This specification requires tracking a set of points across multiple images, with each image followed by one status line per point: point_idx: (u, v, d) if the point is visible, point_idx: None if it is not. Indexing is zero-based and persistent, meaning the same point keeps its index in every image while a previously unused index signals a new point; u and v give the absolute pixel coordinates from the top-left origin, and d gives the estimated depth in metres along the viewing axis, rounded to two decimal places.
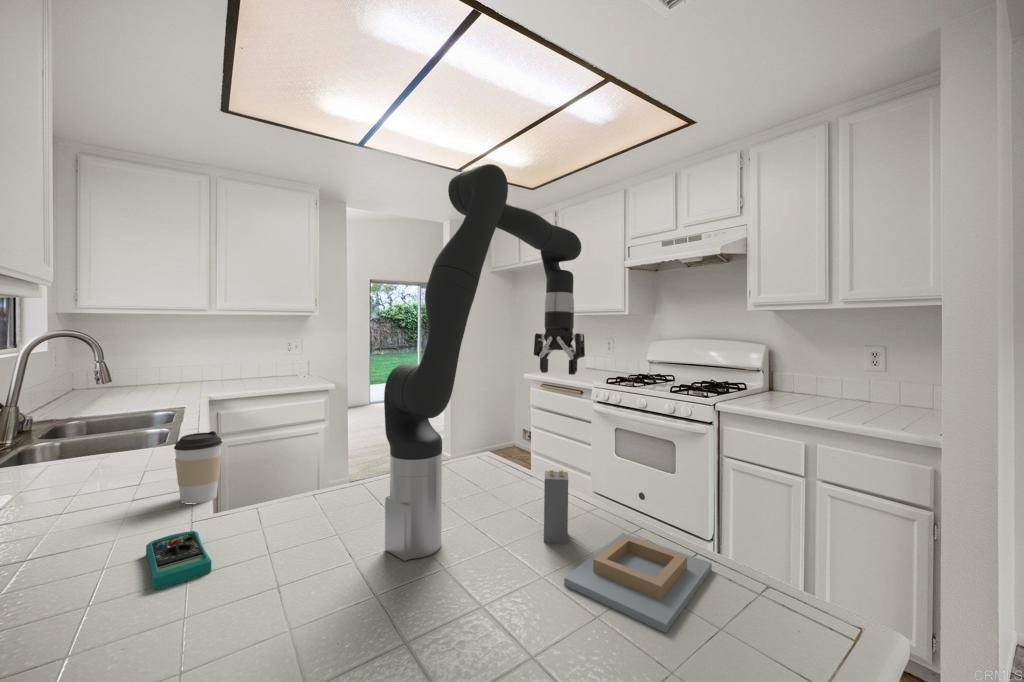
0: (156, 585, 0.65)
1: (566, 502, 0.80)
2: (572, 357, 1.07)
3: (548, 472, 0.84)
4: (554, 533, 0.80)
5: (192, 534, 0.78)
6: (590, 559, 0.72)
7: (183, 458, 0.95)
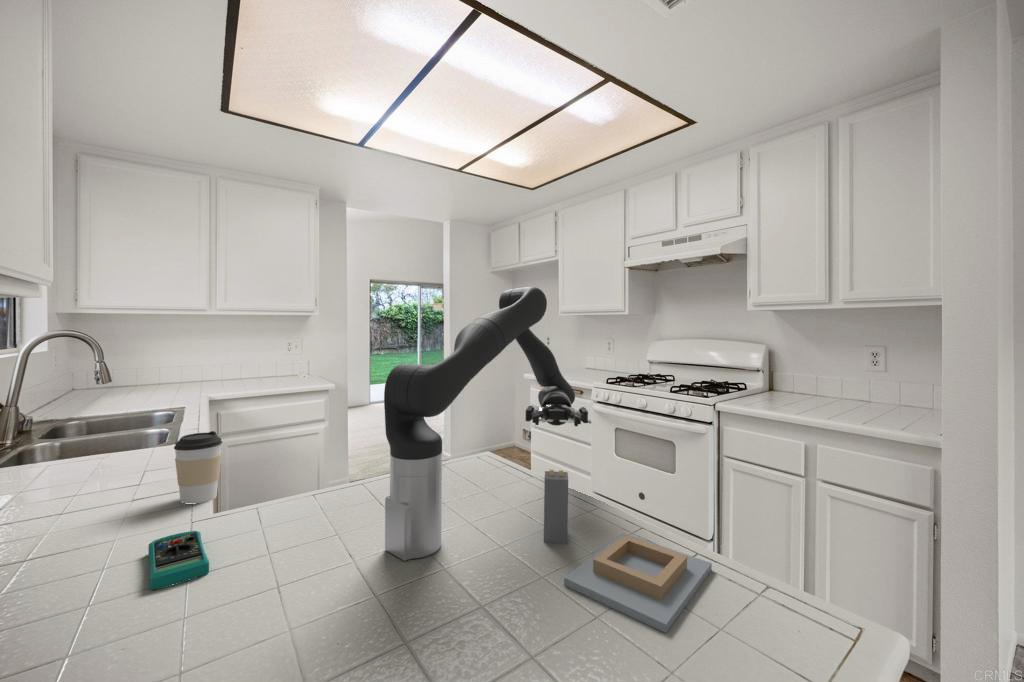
0: (153, 585, 0.64)
1: (566, 502, 0.80)
2: (579, 412, 0.97)
3: (548, 472, 0.84)
4: (554, 533, 0.80)
5: (194, 534, 0.78)
6: (590, 559, 0.72)
7: (183, 458, 0.95)
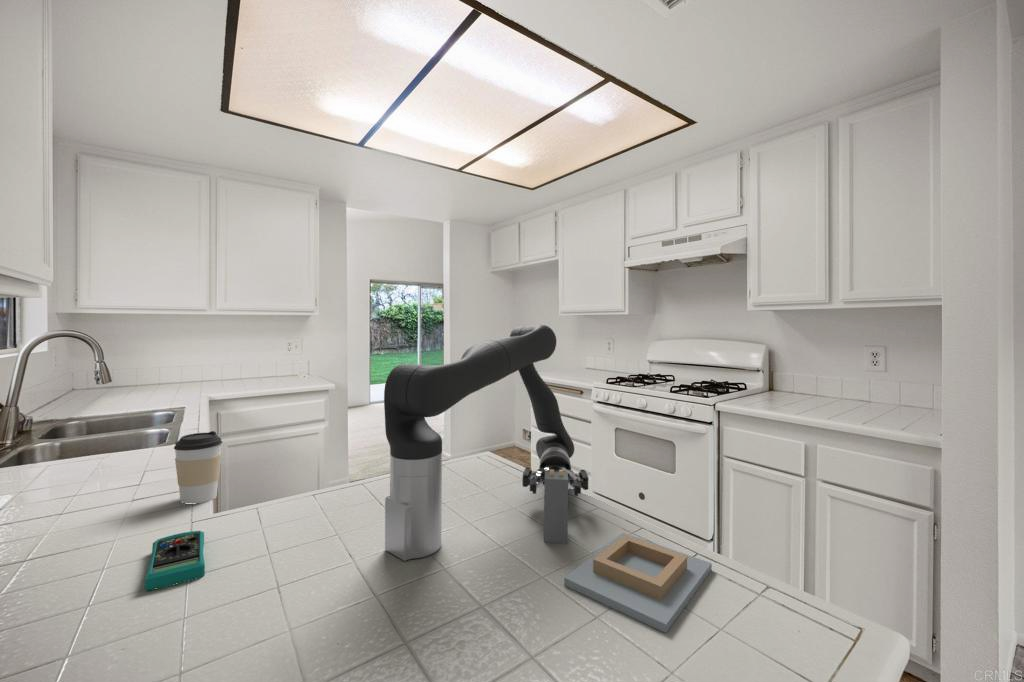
0: (148, 587, 0.64)
1: (566, 502, 0.80)
2: (578, 478, 0.92)
3: (548, 472, 0.84)
4: (554, 533, 0.80)
5: (198, 534, 0.78)
6: (590, 559, 0.72)
7: (183, 458, 0.95)
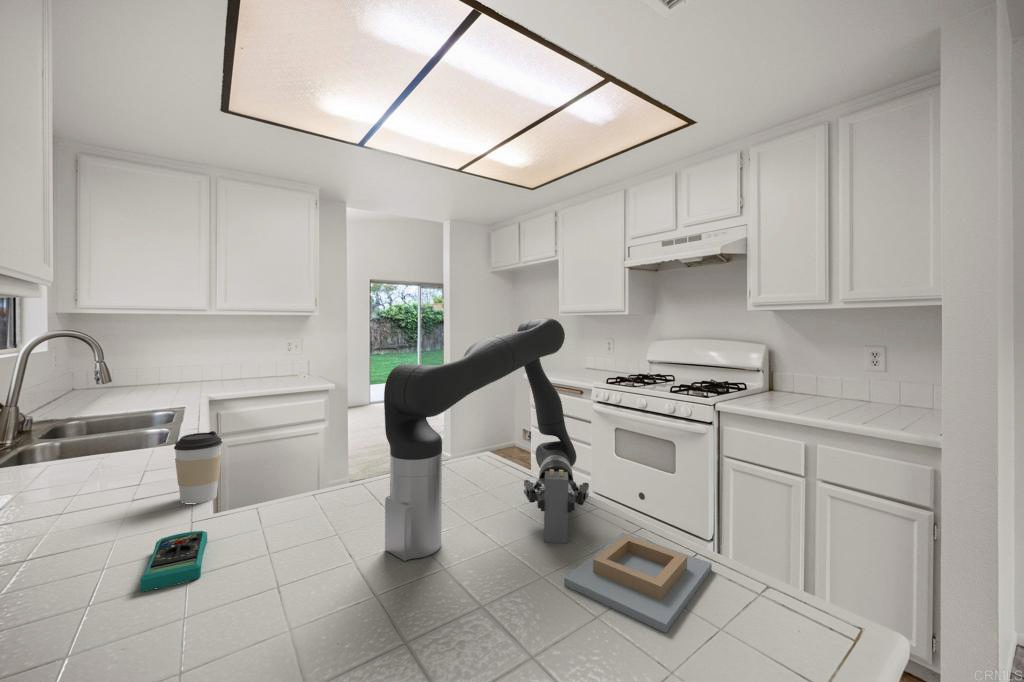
0: (143, 587, 0.64)
1: (566, 502, 0.80)
2: (573, 492, 0.83)
3: (548, 472, 0.84)
4: (554, 533, 0.80)
5: (200, 534, 0.78)
6: (590, 559, 0.72)
7: (183, 458, 0.95)
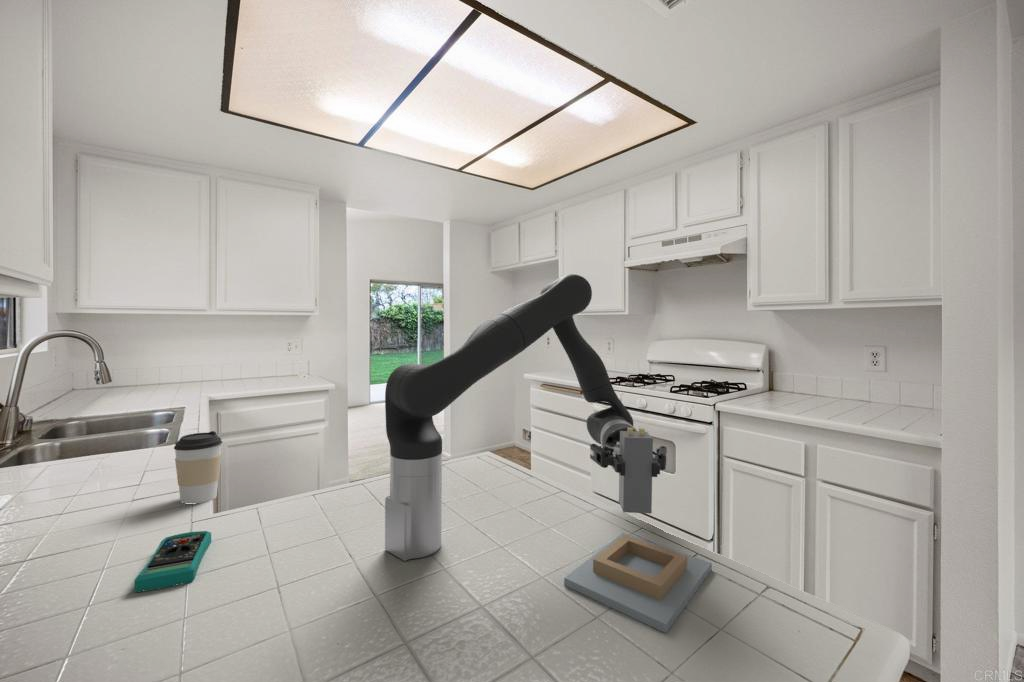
0: (136, 588, 0.64)
1: (650, 465, 0.68)
2: (653, 455, 0.71)
3: (624, 432, 0.72)
4: (636, 501, 0.68)
5: (204, 534, 0.78)
6: (590, 559, 0.72)
7: (183, 458, 0.95)
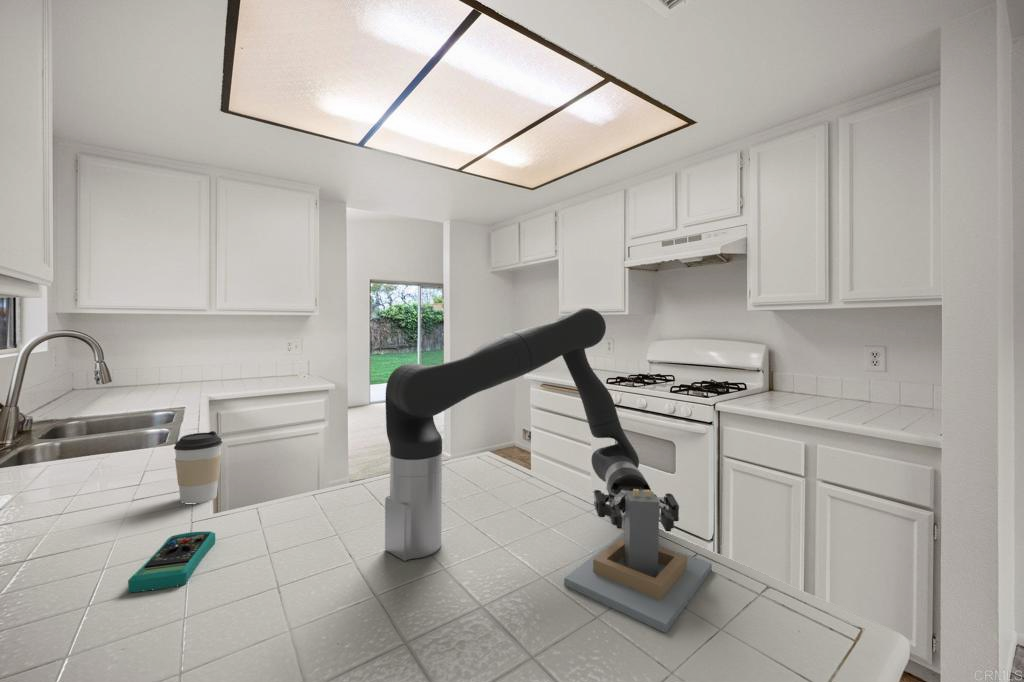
0: (130, 588, 0.64)
1: (656, 529, 0.67)
2: (667, 506, 0.71)
3: (630, 492, 0.71)
4: (642, 566, 0.67)
5: (207, 535, 0.78)
6: (590, 559, 0.72)
7: (183, 458, 0.95)
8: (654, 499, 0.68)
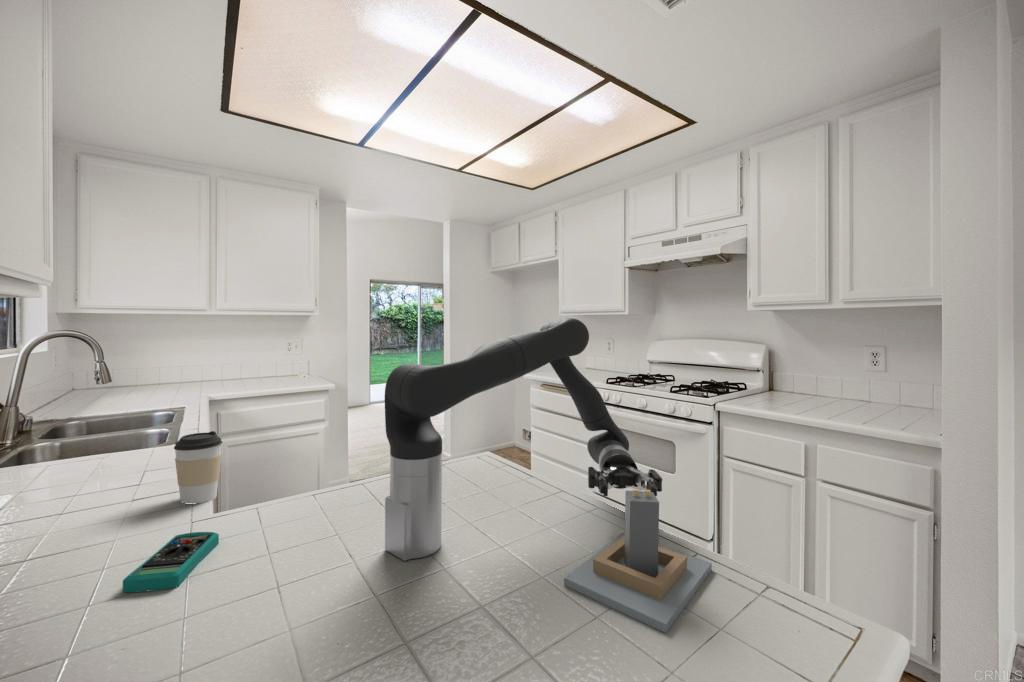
0: (124, 588, 0.64)
1: (656, 529, 0.67)
2: (651, 479, 0.84)
3: (630, 492, 0.71)
4: (642, 566, 0.67)
5: (210, 535, 0.77)
6: (590, 559, 0.72)
7: (183, 458, 0.95)
8: (654, 499, 0.68)
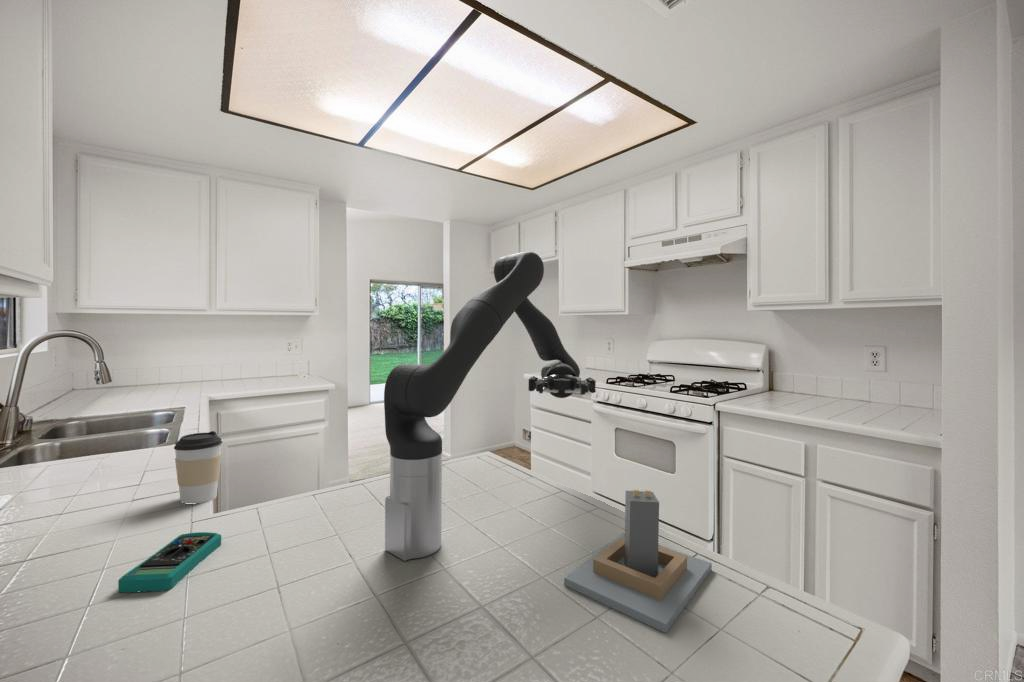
0: (119, 588, 0.64)
1: (656, 529, 0.67)
2: (586, 380, 0.90)
3: (630, 492, 0.71)
4: (642, 566, 0.67)
5: (212, 536, 0.77)
6: (590, 559, 0.72)
7: (183, 458, 0.95)
8: (654, 499, 0.68)
